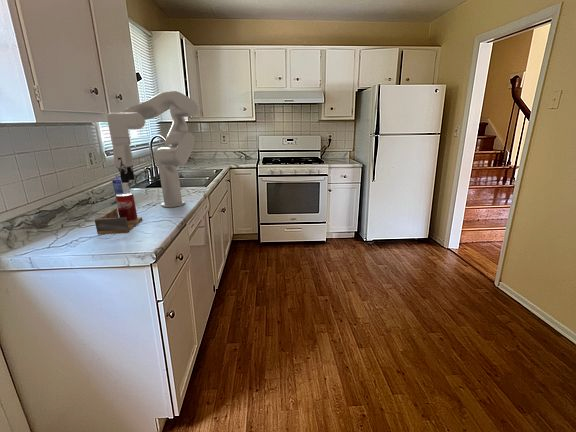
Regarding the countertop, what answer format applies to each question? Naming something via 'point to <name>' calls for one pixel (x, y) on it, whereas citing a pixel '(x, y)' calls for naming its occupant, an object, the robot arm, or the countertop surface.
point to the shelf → (114, 223)
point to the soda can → (126, 206)
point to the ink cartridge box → (120, 186)
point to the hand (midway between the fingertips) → (128, 180)
